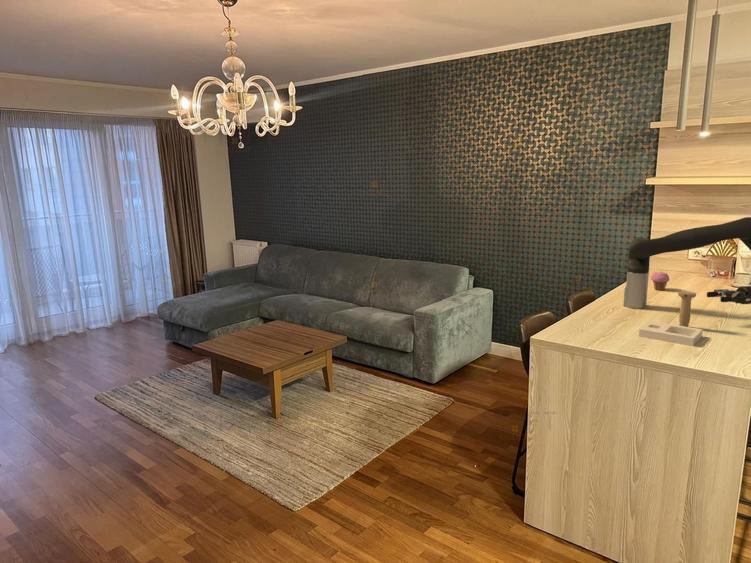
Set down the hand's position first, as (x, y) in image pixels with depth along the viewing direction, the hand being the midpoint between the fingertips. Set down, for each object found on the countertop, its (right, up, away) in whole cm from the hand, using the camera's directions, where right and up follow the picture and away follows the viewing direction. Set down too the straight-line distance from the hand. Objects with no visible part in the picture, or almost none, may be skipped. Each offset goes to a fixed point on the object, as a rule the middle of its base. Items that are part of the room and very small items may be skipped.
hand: (714, 297), depth 209 cm
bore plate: (-23, -16, -8) cm, 29 cm away
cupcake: (+14, +2, +66) cm, 67 cm away
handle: (-11, -13, +3) cm, 17 cm away
